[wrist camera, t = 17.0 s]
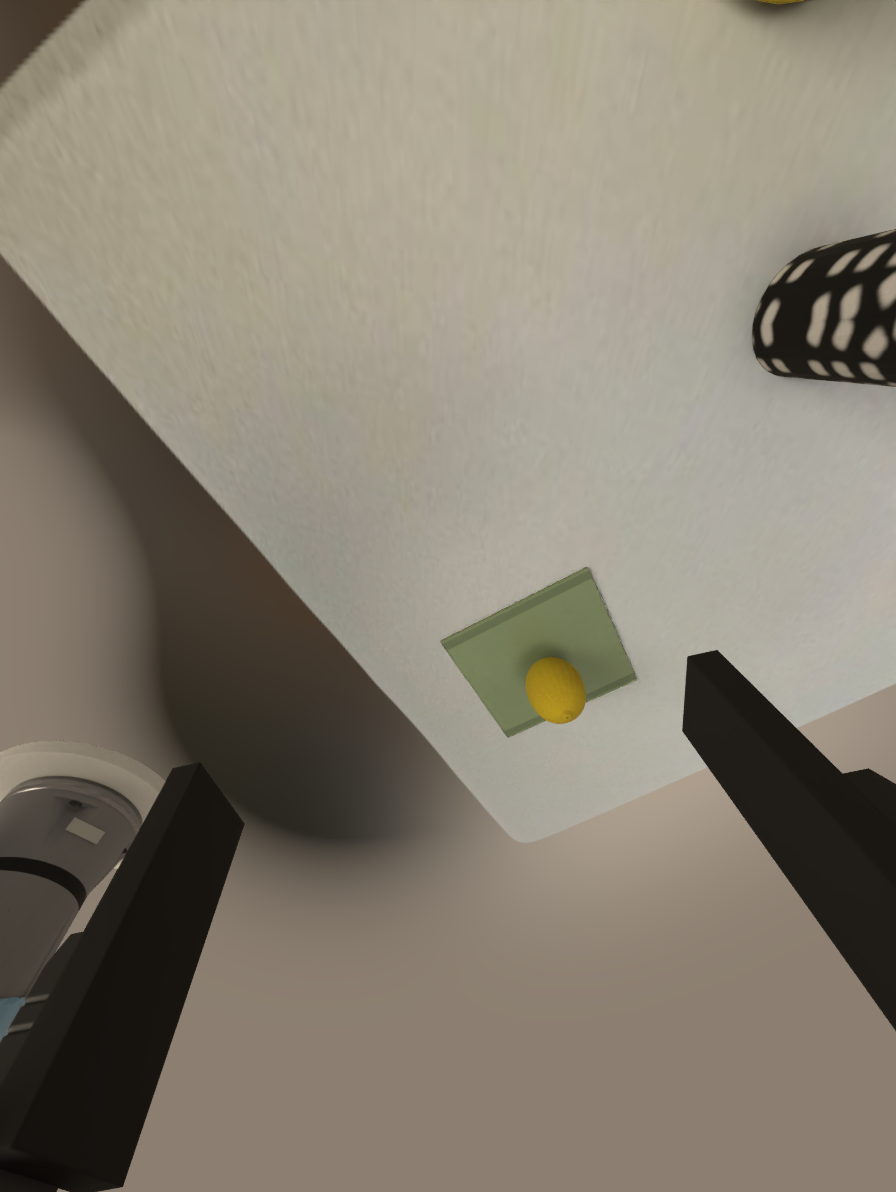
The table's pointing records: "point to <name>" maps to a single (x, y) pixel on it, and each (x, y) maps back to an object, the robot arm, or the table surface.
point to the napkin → (541, 648)
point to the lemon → (555, 690)
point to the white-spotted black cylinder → (833, 314)
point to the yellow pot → (780, 1)
